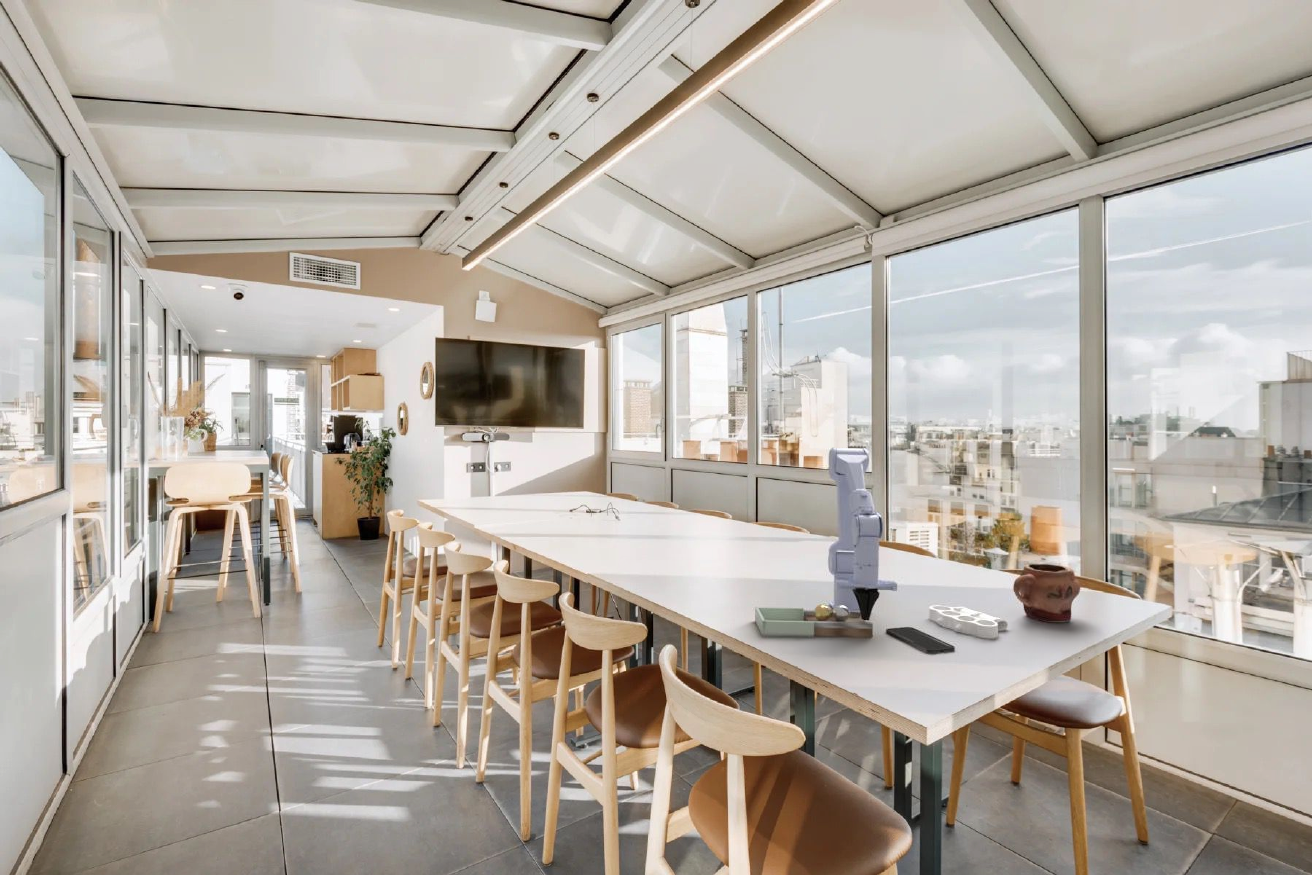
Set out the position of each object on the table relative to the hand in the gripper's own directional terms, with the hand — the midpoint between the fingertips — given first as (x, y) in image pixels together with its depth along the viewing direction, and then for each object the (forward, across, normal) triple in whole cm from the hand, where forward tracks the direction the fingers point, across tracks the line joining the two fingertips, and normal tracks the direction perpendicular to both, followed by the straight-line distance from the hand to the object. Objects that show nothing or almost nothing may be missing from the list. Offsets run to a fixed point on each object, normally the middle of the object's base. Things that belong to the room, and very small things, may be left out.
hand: (865, 619), depth 147 cm
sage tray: (+3, -20, 0) cm, 20 cm away
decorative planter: (+3, +51, +12) cm, 52 cm away
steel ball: (-1, -6, 0) cm, 6 cm away
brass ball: (-1, -10, 0) cm, 10 cm away
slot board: (+3, -7, 0) cm, 7 cm away
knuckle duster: (+3, +27, +5) cm, 28 cm away
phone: (+3, +10, -7) cm, 13 cm away
